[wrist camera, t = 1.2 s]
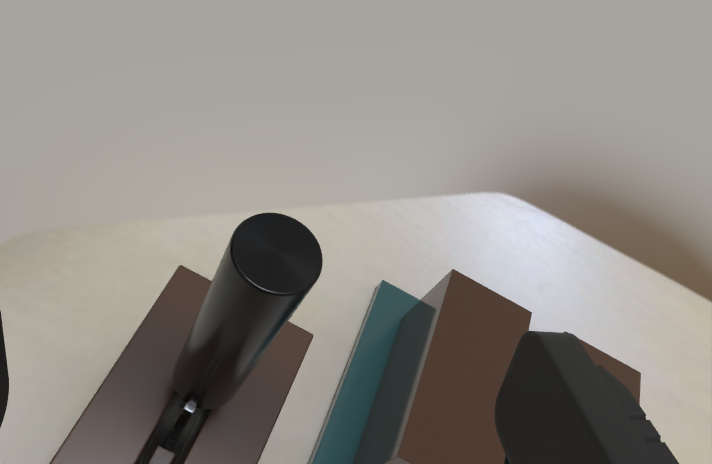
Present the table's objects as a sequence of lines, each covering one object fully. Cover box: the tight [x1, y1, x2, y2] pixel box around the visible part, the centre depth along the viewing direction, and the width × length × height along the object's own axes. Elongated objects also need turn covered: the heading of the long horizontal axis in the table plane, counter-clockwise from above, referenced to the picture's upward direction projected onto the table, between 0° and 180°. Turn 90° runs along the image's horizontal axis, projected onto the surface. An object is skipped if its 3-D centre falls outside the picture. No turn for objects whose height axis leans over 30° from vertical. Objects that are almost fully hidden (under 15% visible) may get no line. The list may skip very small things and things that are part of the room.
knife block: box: [50, 265, 313, 464], centre depth 31 cm, size 10×7×10 cm
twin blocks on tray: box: [309, 269, 641, 464], centre depth 38 cm, size 16×18×8 cm
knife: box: [162, 213, 322, 451], centre depth 26 cm, size 3×3×22 cm
